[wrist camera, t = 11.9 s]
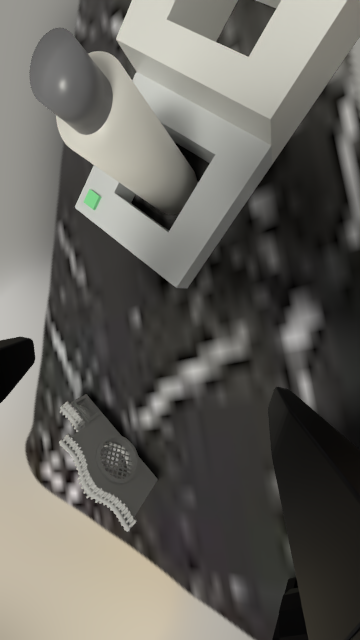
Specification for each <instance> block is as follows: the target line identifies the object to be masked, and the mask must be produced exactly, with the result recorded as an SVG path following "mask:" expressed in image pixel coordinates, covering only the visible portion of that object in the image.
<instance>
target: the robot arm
mask: <svg viewBox="0 0 360 640" xmlns="http://www.w3.org/2000/svg"><path fill="white" fill-rule="evenodd" d="M34 361H35V352H34V344H33V341H32V340H31V339H29V338H24V337H16V338H11V339H6V340H1V341H0V403H1V402H2V401H3V400H4V399H5V398H6V397H7V396H8V394H9V393H10V392H11V391H12V390H13V388H14V387H15V386H16V384H17V383H18V382H19V381H20V380H21V379H22V377H23V376H24V375H25V374H26V372H27V371H28V370H29V368H30V367H31V366H32V365H33V363H34ZM268 416H269V428H270V440H271V451H272V459H273V464H274V469H275V474H276V479H277V484H278V489H279V494H280V499H281V504H282V509H283V514H284V519H285V524H286V529H287V534H288V539H289V544H290V549H291V554H292V559H293V564H294V569H295V574H296V577H295V578H290V579H288V583H287V586H286V590H285V594H284V595H283V598H282V602H281V606H280V610H279V617H278V620H277V624H276V628H275V632H274V635H273V640H360V450H359V449H358V448H356V447H355V446H354V445H353V444H352V443H351V442H349V441H348V440H347V439H346V438H345V437H344V436H343V435H341V434H340V433H339V432H338V431H337V430H336V429H334V428H333V427H332V426H331V425H330V424H329V423H327V422H326V421H325V420H324V419H323V418H322V417H321V416H319V415H318V414H317V413H316V412H315V411H314V410H312V409H311V408H310V407H309V406H308V405H307V404H306V403H304V402H303V401H302V400H301V399H300V398H299V397H297V396H296V395H295V394H294V393H293V392H292V391H290V390H289V389H287V388H282V387H276V388H275V389H274V392H273V395H272V398H271V401H270V404H269V408H268Z"/></svg>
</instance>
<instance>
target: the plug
mask: <svg viewBox="0 0 360 640" xmlns="http://www.w3.org/2000/svg"><path fill="white" fill-rule="evenodd" d="M30 84H31V88H32V91H33V93H34V96H35V97H36V99H37V100H38V101H39V102H41V103H42V104H43V105H44V106H46V107H47V108H48V109H49V110H51V111H52V112H53V113H54V114H56V120H57V126H58V130H59V133H60V135H61V137H62V139H63V141H64V142H65V144H66V145H67V146H68V147H69V148H71V149H72V150H73V151H75V152H76V153H78V154H79V155H81V156H82V157H83V158H85V159H86V160H88V161H89V162H91V163H92V164H94V165H95V166H96V167H98V168H99V169H101V170H102V171H104V172H105V173H106V174H108V175H109V176H111V177H112V178H114V179H115V180H116V181H118V182H119V183H121V184H122V185H124V186H125V187H126V188H128V189H129V190H131V191H132V192H134V193H135V194H137V195H138V196H139V197H141V198H142V199H144V200H145V201H147V202H148V203H149V204H151V205H152V206H154V207H155V208H157V209H158V210H159V211H161V212H163V213H165V214H169V215H173V214H178V213H180V212H181V211H182V209H183V207H184V206H185V204H186V202H187V201H188V199H189V197H190V196H191V194H192V192H193V191H194V189H195V187H196V186H197V177H196V174H195V172H194V170H193V169H192V167H191V166H190V164H189V163H188V162H187V160H186V159H185V157H184V156H183V154H182V153H181V151H180V150H179V148H178V147H177V145H176V144H175V143H174V141H173V140H172V138H171V137H170V135H169V134H168V132H167V131H166V129H165V128H164V126H163V125H162V124H161V122H160V121H159V119H158V118H157V116H156V115H155V113H154V112H153V110H152V109H151V107H150V106H149V105H148V103H147V102H146V100H145V99H144V97H143V96H142V94H141V93H140V91H139V90H138V88H137V87H136V86H135V84H134V83H133V81H132V80H131V78H130V77H129V75H128V74H127V72H126V71H125V69H124V68H123V67H122V65H121V64H120V62H119V61H118V60H117V59H116V58H115V57H114V56H113V55H111V54H109V53H107V52H102V51H96V52H91V53H89V54H88V53H87V52H86V51H85V50H84V48H83V47H82V46H81V45H80V43H79V42H78V41H77V40H76V38H75V37H74V36H73V34H72V33H71V32H70V31H68V30H67V29H64V28H55V29H52V30H50V31H49V32H48V33H46V34H45V35H44V36H43V37H42V39H41V40H40V41H39V43H38V45H37V47H36V49H35V51H34V53H33V56H32V60H31V65H30Z"/></svg>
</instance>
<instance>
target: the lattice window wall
mask: <svg viewBox="0 0 360 640" xmlns="http://www.w3.org/2000/svg"><path fill="white" fill-rule="evenodd" d="M80 408H81V409H80ZM60 409H61V411H60V413H61V412H63V415H66V417H65V418H67V417H68V420H71V422H70V423H73V424H72V426H75V428H74V429H77V430H76V432H77V433H75V434H74V435H73V436H71V435H70V434H67V435H66V436H65V437H64V438H63V439H62V440H61V441H60V442H59V443H60V446H62V447H63V449H65V450H66V452H68V453H69V454H70V455H71V457H72V458H73V459H74V460H73V462H75V463H76V464H75V466H77V468H76V470H78V475H80V476H79V478H78V480H80V482H79V484H82V487H81V489H83V488H84V494H85V493H87V494H88V495H87V497H86V498H89V497H91V500H92V499H96V501H95V503H97V502H98V501H100V502H99V503H100V504H101V503H102V502H103V505H107V508H109V507H110V508H111V509H110V510H111V511H112V510H113V511H114V514H116V515H117V518H118V519H119V521H120V522H121V523H122V524H121V525H122V526H123V527H124V530H126V531H127V532H128V531H129V530H130V528H131V527H132V526H133V525H134V524H135V523H136V521H137V520H136V518H135V517H134V516H135V515H136V513H137V512H138V510H139V509H140V507H141V505H142V504H143V502H144V501H145V499H146V498H147V496H148V494H149V493H150V491H151V490H152V488H153V487H154V485H155V483H156V482H157V480H158V479H157V478H156V477H155V475H154V474H153V473H152V472H151V471H150V469H149V468H148V467H147V466H146V465H145V463H144V462H143V461H142V460H141V459H140V457H139V456H138V454H137V451H136V449H135V447H134V446H133V445H132V443H131V442H130V441H129V440H128V439H127V438H125V437H123V436H121V435H120V434H119V432H118V431H117V430H116V429H115V428H114V426H113V425H112V424H111V423H110V422H109V420H108V419H107V418H106V417H105V416H104V414H103V413H102V412H101V411H100V410H99V409H98V407H97V406H96V405H95V404H94V403H93V401H92V400H91V399H90V398H89V397H88V395H87V394H86V395H84V396H82V397H80V398H78V399H76V400H74V401H72V402H71V403H70V402H69V401H67V402H66V403H65V404H64V405H62V406H61V407H60ZM85 414H86V415H85ZM104 447H107V449H106V448H104ZM109 447H112V449H111V450H110V449H109ZM113 448H115V449H116V451H113ZM101 449H102V452H100V451H101ZM104 450H107V452H106V453H104V452H103V451H104ZM117 450H118V451H119V452H120V453H119V452H117ZM108 451H110V452H111V455H110V454H108ZM112 452H114V453H115V456H113V455H112ZM100 453H101V456H100ZM116 453H117V454H119V457H117V456H116ZM103 454H104V455H106V457H102V455H103ZM107 455H108V456H110V459H108V458H107ZM121 455H123V457H124V459H123V458H120V457H121ZM111 457H114V460H111ZM116 458H117V459H119V461H115V459H116ZM102 459H105V462H102V461H101V460H102ZM120 459H121V460H123V463H121V462H120ZM106 460H109V463H106ZM111 461H112V462H114V463H113V464H110V463H111ZM125 461H126V464H125ZM102 463H103V464H104V466H103V465H102ZM115 463H118V466H116V465H115ZM119 464H122V465H123V467H120V466H119ZM105 465H109V466H108V467H106V466H105ZM124 465H126V466H127V468H124ZM110 466H113V468H110ZM114 467H117V470H116V469H114ZM105 468H106V469H108V472H107V471H106V470H105ZM119 468H120V469H122V471H120V470H119ZM109 469H110V470H112V473H109ZM124 470H127V472H123V471H124ZM114 471H117V475H116V474H113V472H114ZM118 472H120V473H122V475H121V476H120V475H118ZM123 473H124V474H127V475H126V477H124V476H123ZM113 476H116V478H115V477H113ZM118 477H121V479H117V478H118ZM123 478H124V479H123Z"/></svg>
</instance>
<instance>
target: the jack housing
mask: <svg viewBox="0 0 360 640" xmlns="http://www.w3.org/2000/svg"><path fill="white" fill-rule="evenodd" d="M256 1H258V2H261V3H263V4H266V5H268V6H271V7H274V8H276V10H275V12H274V14H273V16H272V17H271V19H270V21H269V23H268V24H267V26H266V28H265V30H264V31H263V33H262V35H261V37H260V38H259V40H258V42H257V43H256V45H255V47H254V49H253V50H252V52H251V54H250V56H249V57H247V56H245V55H243V54H241V53H238V52H236V51H234V50H232V49H230V48H228V47H225V46H223V45H221V44H219V43H217V42H216V41H217V39H218V38H219V36H220V34H221V32H222V30H223V28H224V26H225V24H226V22H227V21H228V19H229V17H230V15H231V13H232V11H233V9H234V7H235V5H236V4H237V2H238V0H132V2H131V5H130V7H129V9H128V12H127V14H126V17H125V19H124V21H123V24H122V26H121V29H120V31H119V33H118V36H117V38H116V40H117V42H118V43H119V45H120V46H121V48H122V49H123V51H124V53H125V54H126V56H127V57H128V59H129V61H130V62H131V64H132V65H133V67H134V68H135V70H136V74H135V76H134V78H133V83H134V84H135V86H136V87H137V88H138V90H139V91H140V93H141V94H142V96H143V97H144V99H145V100H146V102H147V103H148V105H149V106H150V107H151V109H152V110H153V112H154V113H155V115H156V116H157V118H158V119H159V121H160V122H161V124H162V125H163V126H164V128H165V129H166V131H167V132H168V134H169V135H170V137H171V138H172V140H173V141H174V142H176V143H177V144H179V145H180V146H182V147H184V148H185V149H187V150H189V151H190V152H192V153H194V154H195V155H197V156H199V157H200V158H202V159H203V160H205V161H207V162H208V163H210V164H209V166H208V168H207V169H206V171H205V172H204V174H203V176H202V177H201V179H200V181H199V182H198V184H197V186H196V187H195V189H194V191H193V192H192V194H191V196H190V197H189V199H188V201H187V202H186V204H185V206H184V207H183V209H182V211H181V212H180V214H179V216H178V217H177V219H176V221H175V222H174V224H173V225H172V227H171V229H170V230H167V229H166V228H165V227H163V226H162V225H160V224H159V223H158V222H156V221H155V220H154V219H152V218H151V217H149V216H148V215H147V214H145V213H144V212H143V211H141V210H140V209H138V208H137V207H136V206H134V205H133V204H132V203H131V202H132V200H133V198H134V196H135V195H136V194H135V193H134V192H132V191H131V190H129V189H128V188H126V187H125V186H124V185H122V184H121V183H119V182H118V181H116V180H115V179H114V178H112V177H111V176H109V175H108V174H106V173H105V172H104V171H102V170H101V169H99V168H98V167H96V166H95V165H94V166H93V168H92V171H91V173H90V175H89V177H88V179H87V182H86V184H85V186H84V188H83V190H82V193H81V195H80V197H79V199H78V201H77V204H76V206H75V208H76V209H77V210H79V211H80V212H81V213H82V214H84V215H85V216H86V217H87V218H89V219H90V220H91V221H92V222H94V223H95V224H96V225H98V226H99V227H100V228H101V229H103V230H104V231H105V232H106V233H108V234H109V235H110V236H111V237H113V238H114V239H115V240H116V241H118V242H119V243H120V244H122V245H123V246H124V247H125V248H127V249H128V250H129V251H130V252H132V253H133V254H134V255H135V256H137V257H138V258H139V259H140V260H142V261H143V262H144V263H146V264H147V265H148V266H149V267H151V268H152V269H153V270H154V271H156V272H157V273H158V274H159V275H161V276H162V277H163V278H164V279H166V280H167V281H168V282H170V283H171V284H172V285H173V286H175V287H176V288H188V287H189V285H190V284H191V282H192V281H193V279H194V278H195V276H196V275H197V274H198V272H199V271H200V269H201V268H202V266H203V265H204V263H205V262H206V260H207V259H208V258H209V256H210V255H211V253H212V252H213V250H214V249H215V247H216V246H217V244H218V243H219V241H220V240H221V239H222V237H223V236H224V234H225V233H226V231H227V230H228V228H229V227H230V225H231V224H232V222H233V221H234V220H235V218H236V217H237V215H238V214H239V212H240V211H241V209H242V208H243V206H244V205H245V203H246V202H247V201H248V199H249V198H250V196H251V195H252V193H253V192H254V190H255V189H256V187H257V186H258V185H259V183H260V182H261V180H262V179H263V177H264V176H265V174H266V173H267V171H268V170H269V168H270V167H271V166H272V164H273V163H274V161H275V160H276V158H277V157H278V155H279V154H280V152H281V151H282V149H283V148H284V147H285V145H286V144H287V142H288V141H289V139H290V138H291V136H292V135H293V133H294V132H295V131H296V129H297V128H298V126H299V125H300V123H301V122H302V120H303V119H304V117H305V116H306V114H307V113H308V112H309V110H310V109H311V107H312V106H313V104H314V103H315V101H316V100H317V98H318V97H319V95H320V94H321V93H322V91H323V90H324V88H325V87H326V85H327V84H328V82H329V81H330V79H331V78H332V76H333V75H334V74H335V72H336V71H337V69H338V68H339V66H340V65H341V63H342V62H343V60H344V59H345V58H346V56H347V55H348V53H349V52H350V50H351V49H352V47H353V46H354V44H355V43H356V41H357V40H358V39H359V37H360V0H256Z"/></svg>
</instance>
